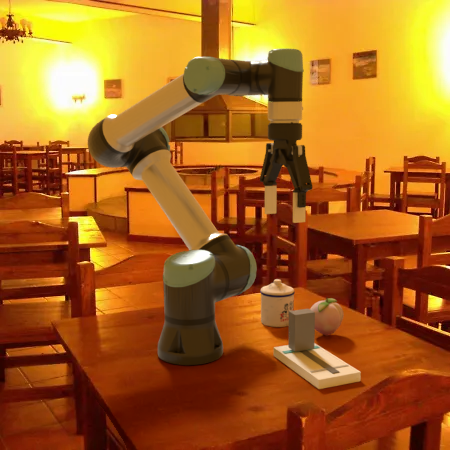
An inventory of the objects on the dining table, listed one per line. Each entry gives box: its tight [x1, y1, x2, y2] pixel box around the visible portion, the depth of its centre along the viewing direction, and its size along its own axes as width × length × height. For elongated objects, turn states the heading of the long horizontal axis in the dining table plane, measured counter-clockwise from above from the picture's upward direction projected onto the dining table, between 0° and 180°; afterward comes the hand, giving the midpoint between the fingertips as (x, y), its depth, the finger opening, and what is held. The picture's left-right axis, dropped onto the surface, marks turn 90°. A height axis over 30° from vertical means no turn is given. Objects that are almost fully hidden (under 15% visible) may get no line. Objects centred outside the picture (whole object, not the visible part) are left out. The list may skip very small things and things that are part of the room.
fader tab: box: [287, 308, 316, 352], centre depth 145 cm, size 5×3×8 cm, turn 113°
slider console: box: [273, 342, 362, 390], centre depth 140 cm, size 10×20×2 cm, turn 23°
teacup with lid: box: [260, 278, 295, 328], centre depth 172 cm, size 12×9×12 cm
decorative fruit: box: [309, 296, 345, 337], centre depth 160 cm, size 9×8×10 cm
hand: (284, 217), depth 144 cm, fingers open, 13 cm apart
